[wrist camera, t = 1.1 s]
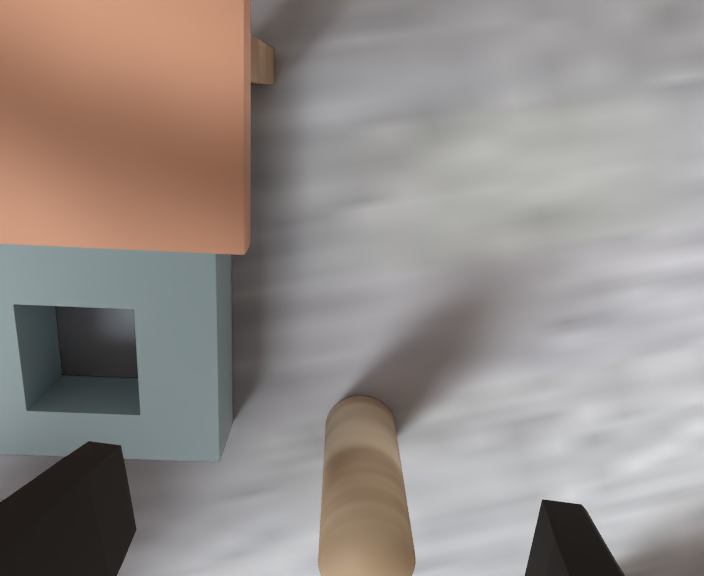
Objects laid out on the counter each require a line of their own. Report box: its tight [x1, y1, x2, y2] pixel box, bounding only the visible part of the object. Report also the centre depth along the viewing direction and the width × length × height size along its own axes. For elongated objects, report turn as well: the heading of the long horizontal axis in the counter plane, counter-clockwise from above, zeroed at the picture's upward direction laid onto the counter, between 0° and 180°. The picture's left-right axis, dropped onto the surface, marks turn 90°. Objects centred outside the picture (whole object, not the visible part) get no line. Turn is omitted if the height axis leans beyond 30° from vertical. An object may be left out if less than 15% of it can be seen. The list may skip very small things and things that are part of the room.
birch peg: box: [318, 396, 415, 576], centre depth 23 cm, size 3×3×8 cm
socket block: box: [0, 244, 233, 462], centre depth 23 cm, size 13×10×3 cm
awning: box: [0, 0, 274, 255], centre depth 18 cm, size 6×14×10 cm, turn 87°
